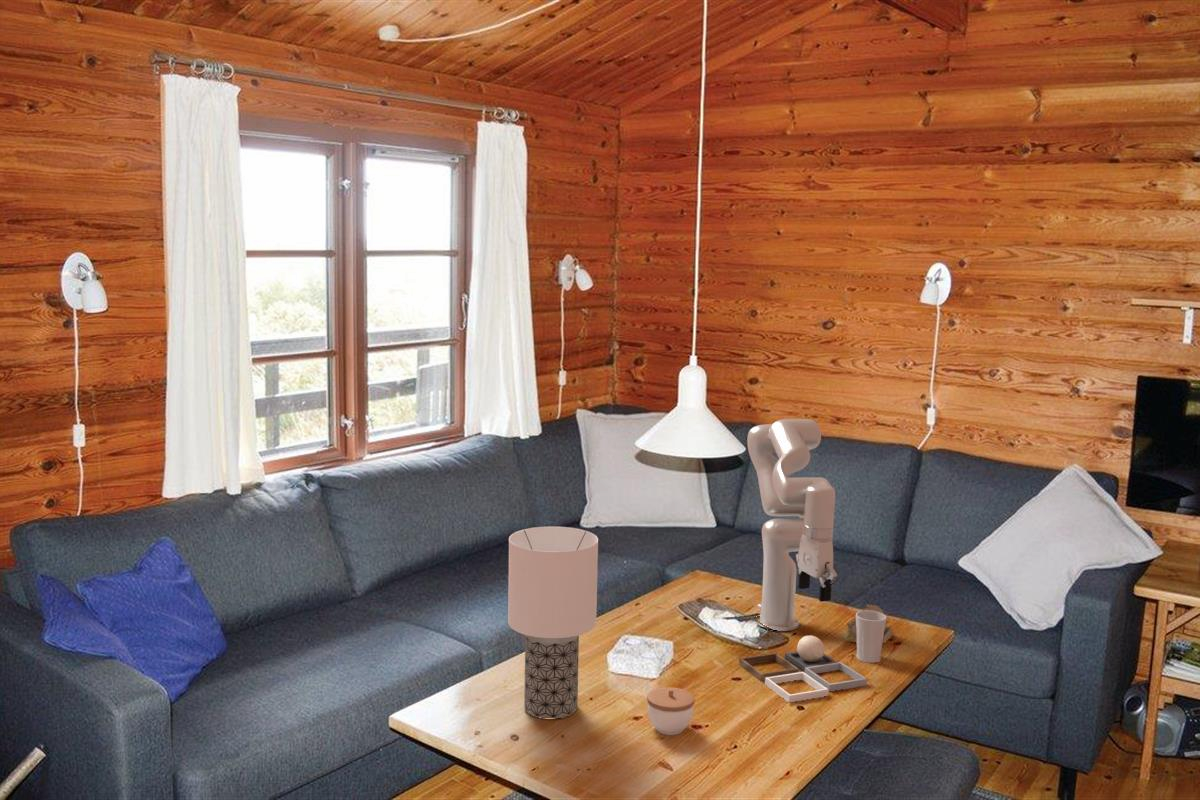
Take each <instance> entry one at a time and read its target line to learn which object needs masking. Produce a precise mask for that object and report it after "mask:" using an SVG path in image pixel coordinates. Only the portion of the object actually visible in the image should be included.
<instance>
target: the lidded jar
mask: <svg viewBox="0 0 1200 800" xmlns="http://www.w3.org/2000/svg"><path fill="white" fill-rule="evenodd" d="M646 700H647V701H646V702H647V714H648V718H649V721H650V723H651V724H652V725H653V727H654V728H655V729H656V731H657V732H658V733H660V734H662V735H667V736H674V735H679V734H681V733H682V732H683V731H684V730H685V729H686V728H687V727H688V726H689V725H690V723H691V721H692V718H693V714H694V705H695V697H694V695H693V694H692V693H691V691H690V692H689V691H688V690H685V689H683V688H679V687H671V686H668V687H667V686H666V687H657V688H654V689H652V690H650V691H649V692H648V694H647V696H646Z"/></svg>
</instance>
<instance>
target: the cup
mask: <svg viewBox="0 0 1200 800" xmlns="http://www.w3.org/2000/svg"><path fill="white" fill-rule="evenodd" d="M884 614H885V613H884ZM884 614H882V613H880V612H876V611H869V610H864V611H862V610H859V611H857V612H856V613H855V617H856V627H857V643H856V656H855V657H857V658H856V659H857V660H858V659H859V660H858V661H860V662H863V663H869V664H870V663H871V664H872V663H873V664H874V663H875V662H876V663H879V662H880V661H881V656H882V647H883V644H882V642H883V635H884V629H885V623H886V618H887V615H886V614H885V615H884ZM886 624H887V623H886Z"/></svg>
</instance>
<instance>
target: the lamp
mask: <svg viewBox="0 0 1200 800" xmlns="http://www.w3.org/2000/svg"><path fill="white" fill-rule="evenodd" d="M598 555H599V538H598V536H597V534H594V533H593V532H590V531H588V530H584V529H581V528H576V527H567V526H536V527H530V528H529V527H528V528H525V529H521V530H518V531H514V532H513V533H512V534H510V536H509V537H508V583H507V584H508V585H507V586H508V593H507V594H508V595H507V596H508V597H507V599H508V601H507V602H508V605H507V607H508V608H507V617H508V618H507V624H508V626H509V627H510V628H511V629H512V630H513V631H515V632H516V633H519V634H521V635H524V636H525V637H524V692H523V693H524V700H523V701H524V706H523V707H524V710H525V711H526V713H527V714H528V715H530V714H531V715H530V716H532V715H534V716H536V717H535V718H537V717H541V718H561V719H563V718H562V717H565V718H567V717H566V716H568V717H569V715H570V716H571V714H572V715H574V713H575V712H576V711H577V709H578V703H579V702H578V700H579V699H578V697H579V696H578V695H579V690H578V689H579V656H580V655H579V652H580V651H579V649H580V648H579V647H580V645H579V644H580V641H579V639H580V635H584V634H586V633H589V632H590V631H592V630H593V629H594V628H595V627H596V625H597V603H598V601H597V600H598V562H599V556H598ZM534 716H533V717H534ZM541 718H540V719H541Z"/></svg>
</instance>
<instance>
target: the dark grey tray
mask: <svg viewBox="0 0 1200 800" xmlns="http://www.w3.org/2000/svg"><path fill="white" fill-rule="evenodd" d="M783 658H784V659H785V660H787V661H789V662H790V663H791V664H793V665H794V666H796V667H797V668H798V669H799V671H800V672H804V669H805V668H806V667H812V666H819V665H825V664H831V663H838V662H839V661H837V660H835V659H833V658H832V657H830V656H829V655H828V654H826V653H824V655H823V657H821V658H820V659H819V660H817V661H815V662H808V661H805V660H803V659H802V658H801V657H800V656H799V654H798V651H797V650H796V651H792V652H790V651H789V652H785V653H784V657H783Z"/></svg>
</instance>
